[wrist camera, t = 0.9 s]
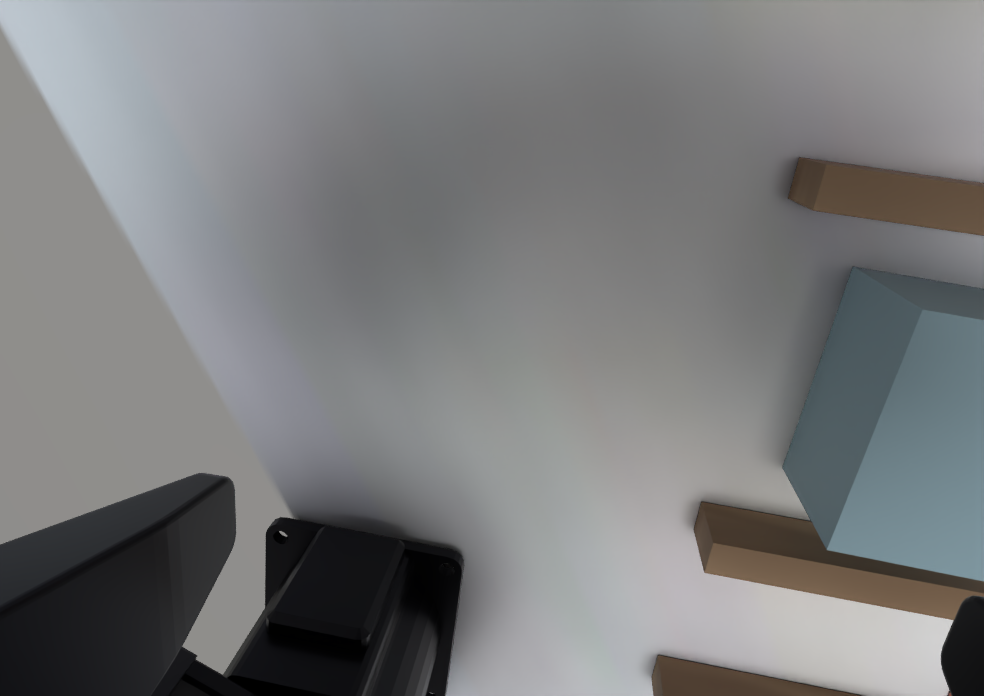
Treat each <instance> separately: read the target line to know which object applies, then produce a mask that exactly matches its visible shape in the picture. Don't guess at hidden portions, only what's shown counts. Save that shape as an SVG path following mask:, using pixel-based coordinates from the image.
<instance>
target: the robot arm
mask: <svg viewBox="0 0 984 696" xmlns="http://www.w3.org/2000/svg"><path fill="white" fill-rule="evenodd" d="M279 531H282V532H284V533H286V535H287V536H288V537H285V536H283V535H281V534H280V533H279ZM235 537H236V514H235V489H234V484H233V481H231V479H230V478H228V477H225V476H219V475H213V474H206V473H198V474H195V475H192V476H189V477H186V478H184V479H181V480H178V481H175V482H172V483H170V484H167V485H164V486H161V487H159V488H156V489H153V490H151V491H147V492H145V493H142V494H139V495H136V496H134V497H131V498H128V499H125V500H122V501H120V502H117V503H114V504H111V505H109V506H106V507H103V508H100V509H98V510H95V511H92V512H89V513H86V514H84V515H81V516H78V517H75V518H73V519H70V520H67V521H64V522H62V523H59V524H56V525H53V526H50V527H48V528H45V529H42V530H39V531H37V532H34V533H31V534H28V535H25V536H23V537H20V538H18V539H14V540H12V541H9V542H6V543H4V544H1V545H0V696H446V691H447V684H448V677H449V670H450V663H451V656H452V648H453V641H454V634H455V627H456V620H457V613H458V605H459V598H460V591H461V584H462V577H463V570H464V560H463V558H462V556H461V555H460V554H459V553H458V552H456V551H454V550H451V549H447V548H441V547H436V546H431V545H426V544H421V543H415V542H410V541H405V540H400V539H395V538H390V537H384V536H379V535H374V534H369V533H364V532H359V531H353V530H348V529H343V528H338V527H333V526H327V525H322V524H317V523H312V522H307V521H301V520H296V519H291V518H282V517H280V518H278V519H275V521H274V522H273V523H272V524H271V526H270V527H269V528H268V530H267V532H266V580H265V586H266V587H265V609H264V611H263V612H262V614H261V616H260V617H259V619H258V621H257V622H256V624H255V625H254V627H253V628H252V630H251V631H250V633H249V635H248V636H247V638H246V639H245V641H244V643H243V644H242V646H241V647H240V649H239V651H238V652H237V654H236V655H235V657H234V658H233V660H232V662H231V663H230V665H229V666H228V668H227V669H226V671H225V673H224V674H223V675H222V674H220V673H218V672H216V671H215V670H213V669H211V668H209V667H208V666H206V665H204V664H203V663H201V662H199V661H197V660H196V657H197V655H195V654H194V653H192V652H190V651H188V650H187V649H185V648H183V647H182V645H183V643H184V642H185V640H186V638H187V636H188V634H189V632H190V630H191V628H192V626H193V624H194V622H195V620H196V618H197V617H198V615H199V613H200V611H201V609H202V607H203V605H204V603H205V601H206V599H207V597H208V595H209V593H210V591H211V590H212V587H213V586H214V584H215V582H216V580H217V578H218V576H219V574H220V572H221V570H222V568H223V566H224V564H225V563H226V561H227V559H228V557H229V555H230V553H231V551H232V548H233V545H234V542H235ZM443 563H448V564H450V565H452V566H453V567H454V568H446V567H444V566H443V565H442V564H443ZM941 665H942V670H943V674H944V676H945V679H946V682H947V685H948V687H949V690H950V693H951V695H952V696H984V597H982V596H970V597H967V598H966V599H965V600H964V601H962V603H961V605H960V607H959V609H958V612H957V614H956V616H955V619H954V621H953V623H952V626H951V628H950V631H949V633H948V635H947V638H946V640H945V642H944V645H943V648H942V652H941ZM429 692H432V693H434V694H431V693H429Z"/></svg>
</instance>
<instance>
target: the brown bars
mask: <svg viewBox="0 0 984 696" xmlns="http://www.w3.org/2000/svg"><path fill="white" fill-rule="evenodd" d="M788 199H790V200H792V201H794V202H796V203H798V204H800V205H802V206H804V207H807V208H809V209H811V210H813V211H819V212H826V213H833V214H840V215H846V216H853V217H860V218H867V219H874V220H880V221H887V222H894V223H901V224H908V225H914V226H921V227H928V228H935V229H942V230H948V231H955V232H962V233H969V234H976V235H982V236H984V183H978V182H971V181H964V180H957V179H950V178H943V177H936V176H928V175H921V174H914V173H907V172H900V171H893V170H886V169H879V168H872V167H865V166H858V165H851V164H844V163H836V162H829V161H822V160H815V159H808V158H801V157H799V161H798V164H797V168H796V171H795V175H794V178H793V182H792V185H791V189H790V192H789V196H788ZM694 533H695V537H696V541H697V545H698V549H699V553H700V557H701V561H702V565H703V569H704V573H709V574H714V575H719V576H724V577H730V578H735V579H740V580H745V581H751V582H756V583H761V584H766V585H772V586H777V587H782V588H787V589H793V590H798V591H803V592H809V593H814V594H819V595H824V596H830V597H835V598H840V599H845V600H851V601H856V602H861V603H866V604H872V605H877V606H882V607H888V608H893V609H898V610H903V611H909V612H914V613H919V614H924V615H930V616H935V617H940V618H945V619H951V620H954V619H955V616H956V614H957V612H958V609H959V607H960V605H961V603H962V601H964V600H965V599H966V598H967V597H970V596H982V597H984V581H979V580H974V579H969V578H964V577H959V576H954V575H949V574H944V573H939V572H934V571H929V570H924V569H919V568H914V567H909V566H904V565H899V564H894V563H889V562H884V561H879V560H874V559H869V558H864V557H859V556H854V555H849V554H844V553H839V552H834V551H829V550H827V549H826V548H825V546H824V544H823V542H822V540H821V538H820V536H819V535H818V533H817V531H816V529H815V527H814V525H813V523H812V522H810V521H804V520H799V519H793V518H788V517H782V516H777V515H771V514H766V513H760V512H755V511H749V510H744V509H738V508H733V507H727V506H722V505H716V504H711V503H705V502H701V506H700V509H699V513H698V516H697V520H696V523H695V527H694ZM652 686H653V695H654V696H859V695H854V694H849V693H844V692H839V691H834V690H829V689H824V688H819V687H815V686H810V685H805V684H800V683H795V682H790V681H785V680H780V679H775V678H770V677H765V676H760V675H755V674H750V673H745V672H740V671H735V670H730V669H725V668H720V667H715V666H710V665H705V664H700V663H695V662H690V661H685V660H680V659H675V658H670V657H665V656H660V655H658V657H657V661H656V664H655V668H654V671H653V675H652ZM948 696H952V695H951V693H949V695H948Z"/></svg>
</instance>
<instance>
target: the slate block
mask: <svg viewBox="0 0 984 696" xmlns="http://www.w3.org/2000/svg"><path fill="white" fill-rule="evenodd" d="M782 468H783V470H784V471H785V473H786V475H787V477H788V479H789V481H790V483H791V484H792V486H793V488H794V490H795V492H796V494H797V496H798V497H799V499H800V501H801V503H802V505H803V507H804V509H805V510H806V512H807V514H808V516H809V518H810V520H811V522H812V523H813V525H814V527H815V529H816V531H817V533H818V535H819V536H820V538H821V540H822V542H823V544H824V546H825V548H826V549H827V550H829V551H834V552H839V553H844V554H849V555H854V556H859V557H864V558H869V559H874V560H879V561H884V562H889V563H894V564H899V565H904V566H909V567H914V568H919V569H924V570H929V571H934V572H939V573H944V574H949V575H954V576H959V577H964V578H969V579H974V580H979V581H984V289H981V288H976V287H970V286H964V285H958V284H952V283H946V282H941V281H935V280H929V279H923V278H917V277H911V276H906V275H900V274H894V273H888V272H882V271H876V270H871V269H865V268H859V267H853V268H852V271H851V274H850V277H849V279H848V282H847V285H846V288H845V291H844V294H843V297H842V299H841V302H840V305H839V308H838V311H837V314H836V316H835V319H834V322H833V325H832V328H831V331H830V334H829V336H828V339H827V342H826V345H825V348H824V351H823V353H822V356H821V359H820V362H819V365H818V368H817V371H816V373H815V376H814V379H813V382H812V385H811V388H810V390H809V393H808V396H807V399H806V402H805V405H804V408H803V410H802V413H801V416H800V419H799V422H798V425H797V427H796V430H795V433H794V436H793V439H792V442H791V445H790V447H789V450H788V453H787V456H786V459H785V462H784V464H783V467H782Z"/></svg>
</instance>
